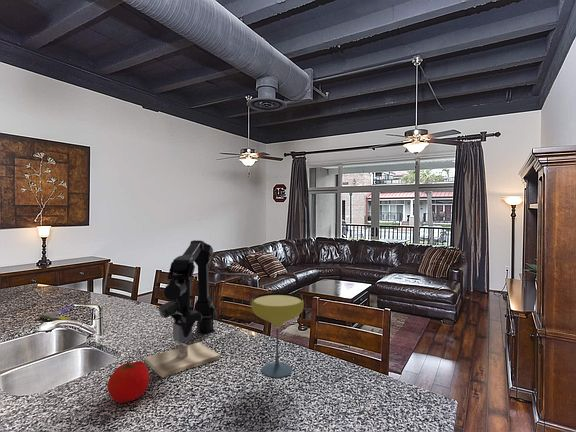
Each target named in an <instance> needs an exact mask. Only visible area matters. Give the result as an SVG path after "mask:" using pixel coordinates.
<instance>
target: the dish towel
mask: <svg viewBox="0 0 576 432" xmlns="http://www.w3.org/2000/svg"><path fill="white" fill-rule="evenodd" d="M77 305H84V304H83V303H78V304H77ZM73 306H74V305H72V306H68V307H66V308H63V309H60V310H55V311H52V312H48V313H44V314H40V315H37V318H39V317H40V319H41V318H45V319H50V320H67V319H69V318H68V317H65V316H56V315H58V313H60V312H63V311H66V310H67V309H69V308H72V307H73ZM100 307H101V309H102V310H103V309H104V307H103V306H100ZM86 313H91V311H88V312H86ZM45 319H44V320H45Z"/></svg>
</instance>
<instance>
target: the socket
mask: <svg viewBox="0 0 576 432" xmlns="http://www.w3.org/2000/svg"><path fill="white" fill-rule="evenodd" d="M179 320H182V319H178V322H175V321H174V322H172V334H173V335H172V339H173V340H175V341H176V342H177V343H178V344H179V343H184V342H187V341H190V340H193V328H192V329H191V331H190V333H189V335H188V337H184V331H183V324H182V323H181V322H180V321H179Z"/></svg>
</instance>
